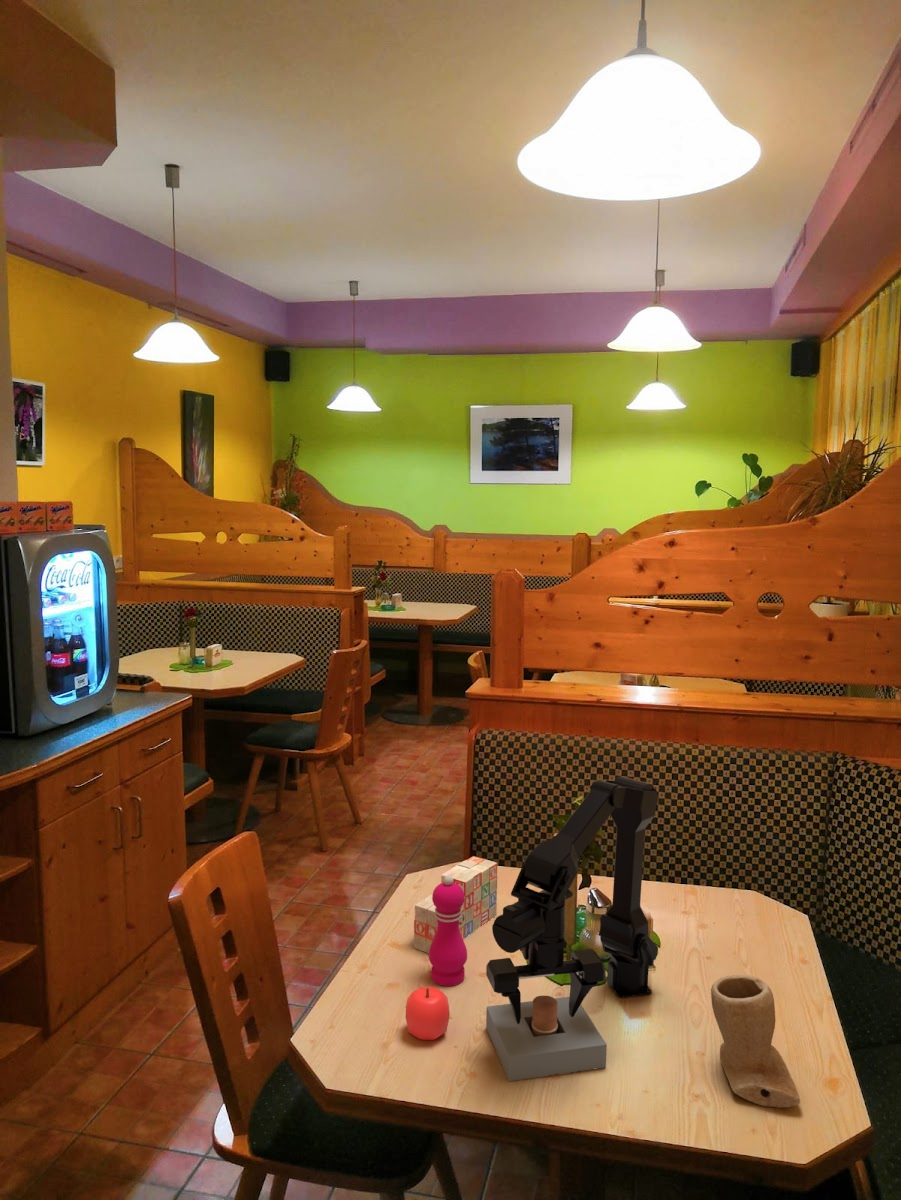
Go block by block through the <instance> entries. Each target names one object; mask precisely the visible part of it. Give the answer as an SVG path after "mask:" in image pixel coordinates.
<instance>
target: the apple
mask: <svg viewBox="0 0 901 1200" xmlns="http://www.w3.org/2000/svg"><path fill="white" fill-rule="evenodd" d="M406 999H407V1000H406V1003H405V1022H406V1026H407V1030H408V1033H409V1034H410V1035H412V1036H414V1037H415V1038H417V1039H420V1040H423V1041H434V1040H436V1039H437V1038H439V1037H440V1036H442V1035H443V1034H445V1033H446V1032H447V1031H448V1025H449V1021H450V1004H449V999H448V997H447V995H446V994H445V993H444V992H443V991H442V990H440V989H438V988H436V987H434V986H429V987H428V986H424V987H423V986H422V987H419V988H417V989H416V990H414V991H412V992H411V993H410V994H409V996H408V997H407V998H406Z"/></svg>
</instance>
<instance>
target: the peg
mask: <svg viewBox="0 0 901 1200" xmlns="http://www.w3.org/2000/svg"><path fill="white" fill-rule="evenodd" d="M554 998H555V997H553V996H549V995H537V996H536V997H534V998H533V999H532V1001H533V1020H532V1034H533V1036H534V1037H536V1036H544V1035H551V1034H557V1026H558V1024H557V1001H556V999H554Z"/></svg>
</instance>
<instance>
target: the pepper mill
mask: <svg viewBox="0 0 901 1200" xmlns="http://www.w3.org/2000/svg"><path fill="white" fill-rule="evenodd" d="M432 894H433V895H432ZM432 894H431V895H432V900H433V903H434V905H435V907H436V908H435V917H436V918H437V922H438V927H437V933H436V935H435V938H434V940H433V942H432V944H431V946H430V950H429V953H428V960H429V963H430V964H431V965H432V966H431V968H430V969H431V970H430V976H431V980H432V981H433V983H435V984H437V985H440V986H445V987H454V986H457V985H460V984H461V983H462V982H463V981H464V979H465V971H466V970H465V966H464V965H465V964H466V962H467V960H468V950H467V946H466V943H465V941H464V940H463V939H462V936H461V934H460V930H459V919H460V918H461V917H462V914H461V912H462V909H461V906H462V905H463V903H464V899H465V897H464V891H463V889H462V888H461V887H460V886H459V885H458V884H456V883H453V878H452V877H451V876H446V877H445V878H444V882H443V883H441V882H440V883H439V884H438V885H437V886H435V888H434V889H433V893H432Z"/></svg>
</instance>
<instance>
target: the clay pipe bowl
mask: <svg viewBox="0 0 901 1200" xmlns="http://www.w3.org/2000/svg"><path fill="white" fill-rule="evenodd" d="M710 995H711V996H710V997H711V1008H712V1012H713V1015H714V1018H715V1020H716V1023H717V1024H716V1025H717V1026H718V1029H719V1031H720V1034H721V1037H722V1040H723V1042H722V1043H721V1045H720V1047H719V1059H720V1062H721V1064H722V1068H723V1070H724V1073H725V1075H726V1078H727V1081H728V1082H729V1086H730V1087H731V1089H732V1091H733V1093H734V1094H736V1095H737V1096H738V1097H741V1098H743V1099H745V1100H747V1101H749V1102H751V1103H754V1104H756V1105H758V1106H759V1105H760V1106H761V1107H762V1106H763V1107H770V1108H789V1107H795V1106H798V1105H799V1104H801V1099H800V1094H799V1092H798V1090H797V1087H796V1085H795V1082H794V1080H793V1079H792V1077H791V1074H790V1071H789V1069H788V1066H787V1065H786V1062H785V1061H784V1059H783V1056H782V1055H781V1054H780V1051H779V1050H778V1049H777V1048H776V1047H775V1046H774V1045H772V1041H773V1037H774V1032H775V1028H776V1021H777V1020H776V1008H775V1006H776V1005H775V997H774V993H773V991H772V989H771V988H770V986H769V985H768V984H767V983H766V982H765V981H763V980H762V979H760V978H759V977H755V976H753V975H752V976H751V975H748V974H731V975H726V976H725V975H724V976H722V977H720V978H718V979H717V980H715V981H714V982H713V984H712V985H711V988H710Z"/></svg>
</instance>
